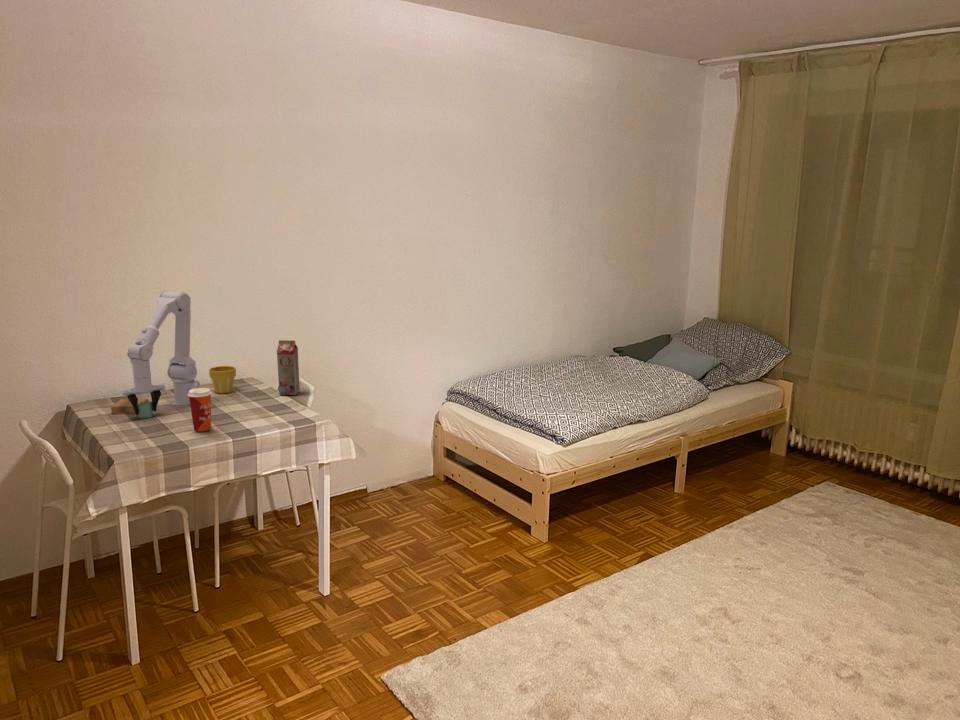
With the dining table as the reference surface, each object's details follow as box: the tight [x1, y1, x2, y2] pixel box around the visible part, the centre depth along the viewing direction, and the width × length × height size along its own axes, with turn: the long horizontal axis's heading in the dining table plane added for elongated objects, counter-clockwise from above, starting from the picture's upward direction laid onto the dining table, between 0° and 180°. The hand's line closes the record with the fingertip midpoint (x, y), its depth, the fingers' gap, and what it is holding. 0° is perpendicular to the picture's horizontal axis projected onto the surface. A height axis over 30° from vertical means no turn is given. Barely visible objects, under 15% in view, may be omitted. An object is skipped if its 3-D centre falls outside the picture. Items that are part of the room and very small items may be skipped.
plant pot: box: [208, 365, 237, 394], centre depth 299 cm, size 10×10×10 cm
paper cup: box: [188, 387, 212, 432], centre depth 252 cm, size 8×8×14 cm
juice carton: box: [276, 339, 301, 396], centre depth 297 cm, size 7×7×22 cm
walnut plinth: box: [110, 398, 149, 415], centre depth 273 cm, size 10×10×3 cm
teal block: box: [137, 400, 154, 419], centre depth 266 cm, size 4×4×5 cm
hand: (145, 412), depth 266 cm, fingers closed on teal block, 5 cm apart
